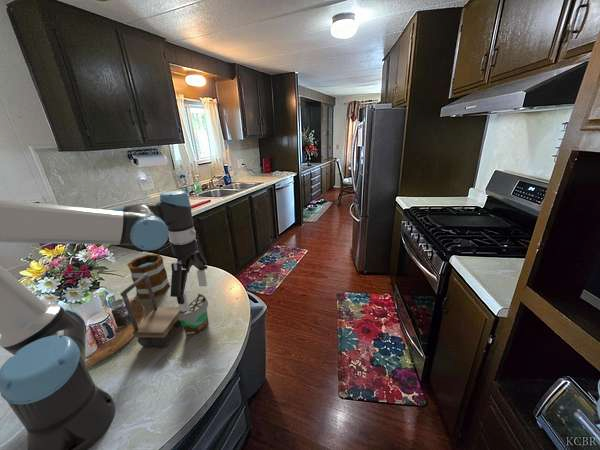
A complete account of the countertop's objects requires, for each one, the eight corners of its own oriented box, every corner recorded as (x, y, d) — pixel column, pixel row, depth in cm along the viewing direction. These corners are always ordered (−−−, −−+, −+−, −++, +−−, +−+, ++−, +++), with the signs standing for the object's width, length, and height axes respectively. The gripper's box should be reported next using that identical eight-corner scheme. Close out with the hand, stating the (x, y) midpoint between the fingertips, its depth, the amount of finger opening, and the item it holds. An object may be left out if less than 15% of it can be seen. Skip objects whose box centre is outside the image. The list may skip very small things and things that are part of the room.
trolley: (167, 349, 78) (151, 293, 71) (138, 349, 79) (118, 293, 72) (186, 322, 90) (173, 272, 82) (160, 322, 90) (145, 272, 83)
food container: (199, 341, 81) (194, 317, 78) (183, 339, 82) (177, 315, 79) (218, 315, 93) (213, 293, 89) (203, 314, 94) (198, 292, 90)
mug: (168, 294, 107) (160, 264, 101) (133, 302, 102) (122, 272, 97) (172, 273, 124) (166, 246, 119) (142, 279, 119) (134, 252, 114)
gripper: (173, 258, 64) (187, 323, 71) (211, 226, 88) (219, 277, 95) (146, 258, 65) (163, 322, 72) (191, 226, 88) (200, 277, 95)
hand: (194, 297), depth 83 cm, fingers open, 13 cm apart
